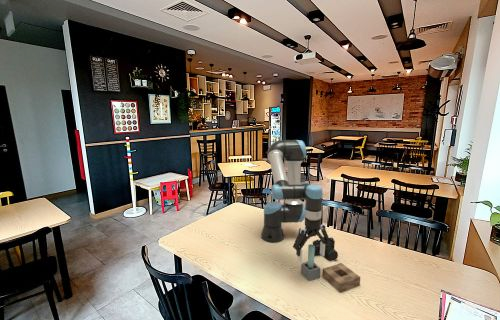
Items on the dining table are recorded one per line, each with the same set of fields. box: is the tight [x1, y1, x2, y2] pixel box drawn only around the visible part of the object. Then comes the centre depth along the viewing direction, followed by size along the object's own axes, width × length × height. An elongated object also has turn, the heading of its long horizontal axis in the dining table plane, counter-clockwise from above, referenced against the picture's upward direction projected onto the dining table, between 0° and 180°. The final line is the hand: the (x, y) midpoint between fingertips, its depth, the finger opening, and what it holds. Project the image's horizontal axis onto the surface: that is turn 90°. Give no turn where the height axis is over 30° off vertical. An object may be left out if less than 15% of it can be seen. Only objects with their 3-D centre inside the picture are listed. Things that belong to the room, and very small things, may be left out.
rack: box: [321, 262, 361, 294], centre depth 113 cm, size 12×12×5 cm
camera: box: [312, 236, 339, 262], centre depth 133 cm, size 14×11×10 cm
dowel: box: [307, 243, 315, 270], centre depth 116 cm, size 3×3×16 cm
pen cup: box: [300, 261, 321, 282], centre depth 117 cm, size 7×7×6 cm
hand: (311, 258), depth 115 cm, fingers open, 13 cm apart
